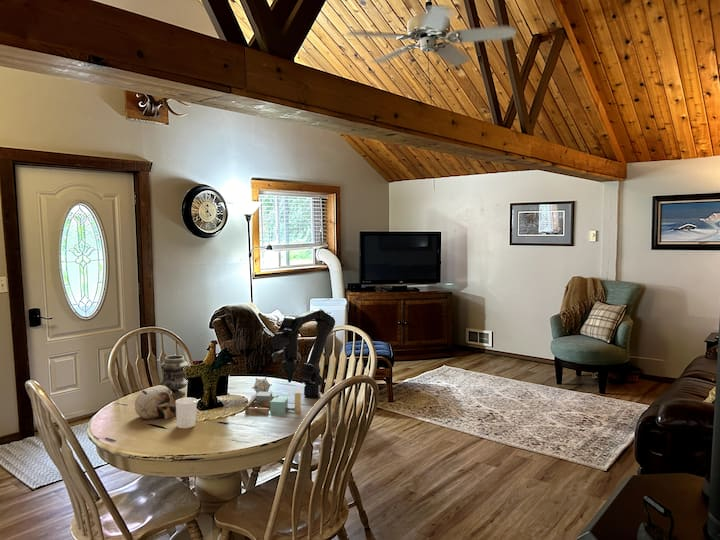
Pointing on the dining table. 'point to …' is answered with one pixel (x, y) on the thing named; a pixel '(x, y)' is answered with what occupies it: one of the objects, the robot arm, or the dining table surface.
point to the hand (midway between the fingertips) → (291, 379)
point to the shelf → (261, 406)
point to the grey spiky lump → (261, 385)
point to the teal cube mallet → (285, 405)
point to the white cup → (186, 412)
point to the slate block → (264, 396)
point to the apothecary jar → (174, 374)
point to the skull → (156, 403)
